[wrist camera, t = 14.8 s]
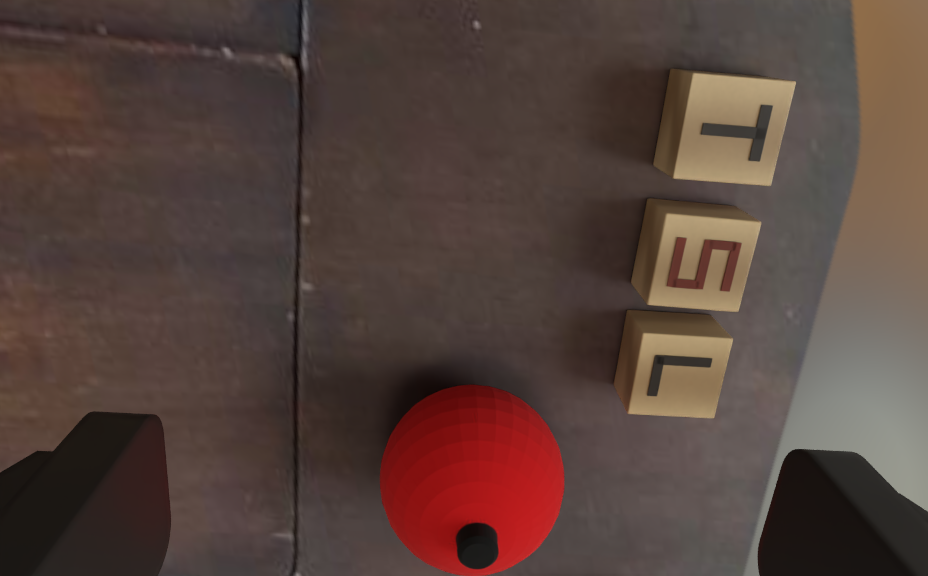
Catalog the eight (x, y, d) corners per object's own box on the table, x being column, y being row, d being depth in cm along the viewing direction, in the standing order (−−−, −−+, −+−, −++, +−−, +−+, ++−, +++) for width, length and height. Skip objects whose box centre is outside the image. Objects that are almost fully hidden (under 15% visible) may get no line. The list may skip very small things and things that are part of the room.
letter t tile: (670, 68, 32) (693, 72, 29) (764, 76, 32) (797, 81, 29) (652, 165, 33) (673, 179, 30) (743, 172, 34) (772, 186, 31)
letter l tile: (626, 308, 36) (643, 333, 33) (711, 314, 36) (734, 339, 33) (613, 385, 38) (627, 415, 35) (693, 389, 38) (714, 419, 35)
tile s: (647, 197, 34) (666, 213, 31) (735, 205, 34) (763, 222, 31) (630, 283, 35) (647, 306, 33) (715, 290, 36) (739, 313, 33)
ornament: (539, 341, 36) (575, 451, 27) (557, 481, 40) (594, 622, 30) (371, 367, 37) (349, 485, 27) (402, 504, 40) (392, 652, 31)
